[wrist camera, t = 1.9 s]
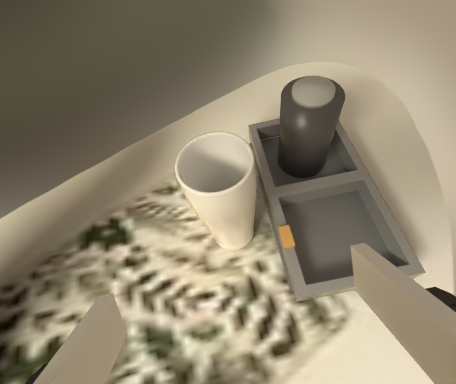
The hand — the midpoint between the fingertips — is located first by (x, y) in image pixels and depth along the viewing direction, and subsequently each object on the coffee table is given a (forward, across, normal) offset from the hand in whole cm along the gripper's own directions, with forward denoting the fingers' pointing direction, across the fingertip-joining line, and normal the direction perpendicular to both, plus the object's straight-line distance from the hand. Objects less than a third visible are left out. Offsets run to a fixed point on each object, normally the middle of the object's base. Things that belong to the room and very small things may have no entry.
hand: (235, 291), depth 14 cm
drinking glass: (+19, 0, -4) cm, 20 cm away
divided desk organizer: (+21, +11, -2) cm, 24 cm away
